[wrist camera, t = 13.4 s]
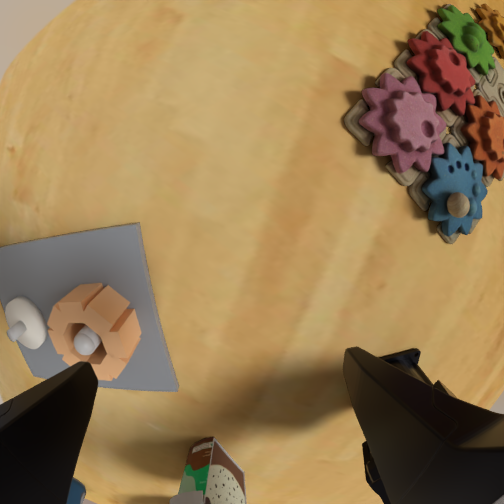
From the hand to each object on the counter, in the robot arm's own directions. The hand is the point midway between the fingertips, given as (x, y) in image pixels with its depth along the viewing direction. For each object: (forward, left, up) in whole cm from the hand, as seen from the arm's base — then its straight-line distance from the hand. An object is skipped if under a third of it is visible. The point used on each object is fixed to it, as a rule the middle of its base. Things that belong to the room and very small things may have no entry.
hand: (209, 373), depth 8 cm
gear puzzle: (-25, -15, -13) cm, 32 cm away
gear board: (+15, +4, -12) cm, 20 cm away
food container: (+6, +25, -12) cm, 28 cm away
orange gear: (+11, +4, -11) cm, 16 cm away
